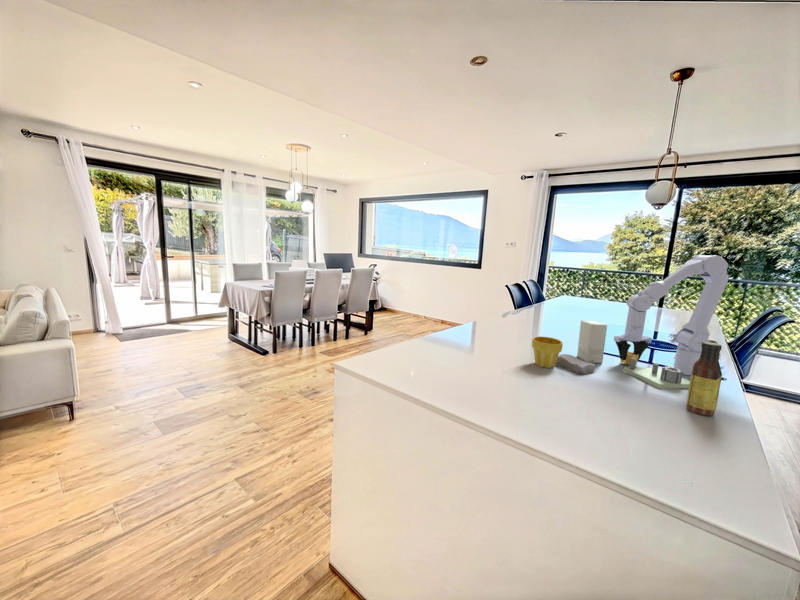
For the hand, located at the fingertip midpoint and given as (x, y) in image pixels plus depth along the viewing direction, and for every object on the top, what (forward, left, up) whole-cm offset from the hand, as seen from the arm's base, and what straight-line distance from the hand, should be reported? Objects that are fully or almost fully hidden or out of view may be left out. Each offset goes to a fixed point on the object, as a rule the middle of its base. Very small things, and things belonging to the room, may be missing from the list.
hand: (629, 359), depth 132 cm
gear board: (+1, +14, -2) cm, 15 cm away
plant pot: (+36, +1, -2) cm, 36 cm away
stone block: (+25, +3, -3) cm, 25 cm away
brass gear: (0, 0, -1) cm, 1 cm away
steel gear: (+1, +19, -1) cm, 19 cm away
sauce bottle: (+10, +37, -2) cm, 38 cm away
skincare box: (+13, -6, -2) cm, 14 cm away
